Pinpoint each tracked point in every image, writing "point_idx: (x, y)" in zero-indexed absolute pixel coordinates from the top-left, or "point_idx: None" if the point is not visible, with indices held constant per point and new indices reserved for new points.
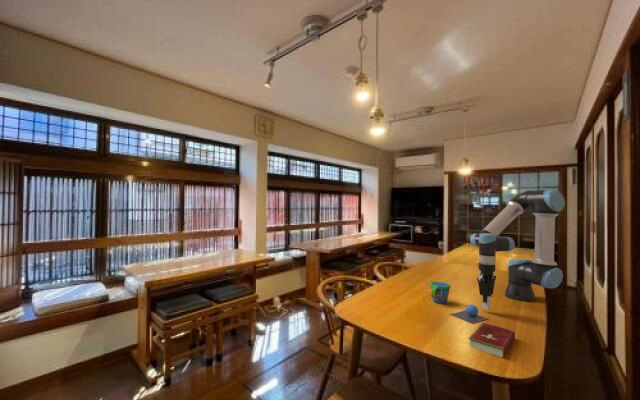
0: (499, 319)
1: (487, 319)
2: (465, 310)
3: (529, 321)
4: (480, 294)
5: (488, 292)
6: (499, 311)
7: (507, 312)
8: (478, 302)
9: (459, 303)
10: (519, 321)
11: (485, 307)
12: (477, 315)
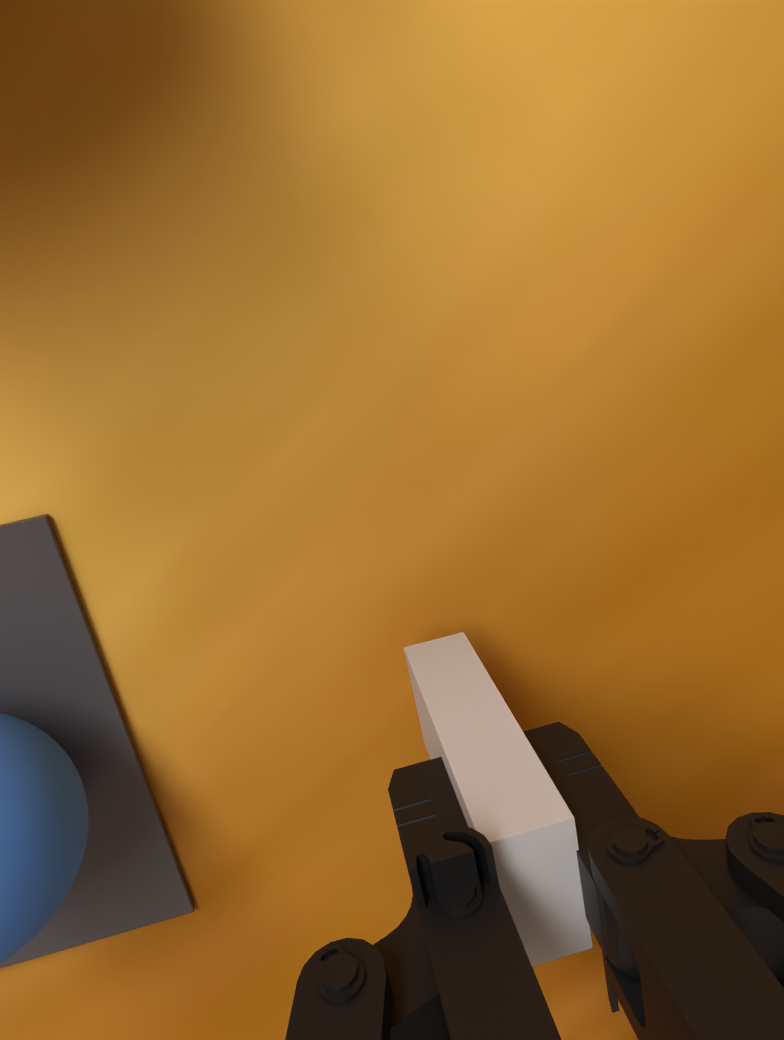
0: (385, 917)
1: (179, 909)
2: (35, 524)
3: None
4: (305, 991)
5: (649, 1032)
6: (694, 652)
7: (775, 706)
8: (766, 129)
9: (239, 38)
10: (606, 985)
11: (421, 713)
12: (110, 777)
